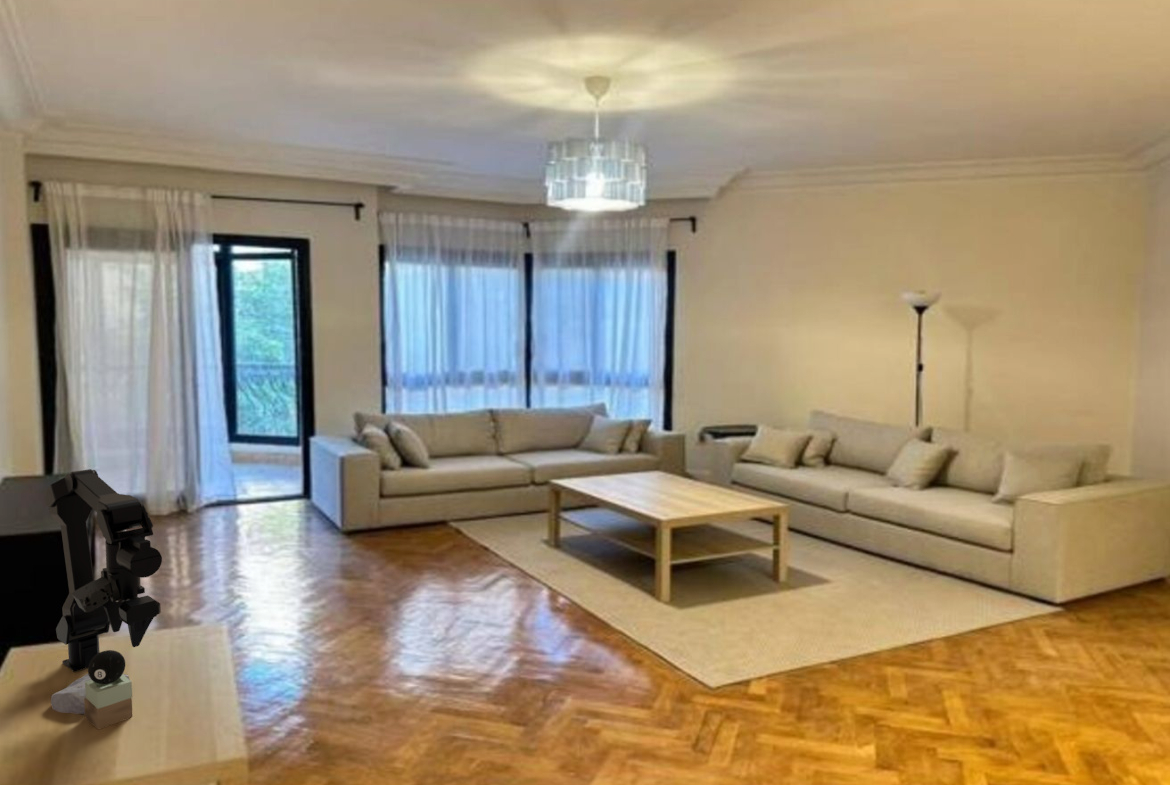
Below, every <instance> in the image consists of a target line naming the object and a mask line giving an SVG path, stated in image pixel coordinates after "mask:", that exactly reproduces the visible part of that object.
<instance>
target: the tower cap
mask: <svg viewBox="0 0 1170 785" xmlns="http://www.w3.org/2000/svg"><path fill="white" fill-rule="evenodd" d="M123 674H124V673H123ZM123 674H122V676H121V677H120V678H119V679H118V680H116V681H114V682H112V683H109V684H98V683H95V682H94V681H92V680H89V681H86V682H85V694H86V699H88V700H89V701H90V702H91V703H92V704H93V705H94V706H95V707H96V708H97V709H99V708H102V707H105V706H108V705H111V704H114V703H117V702H120V701H123V700H126V699H129V698H132V699H133V682H132V680H131V679H130V678H129V679H130V680H129V679H128V678H127V677H126V676H124V675H123Z"/></svg>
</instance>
